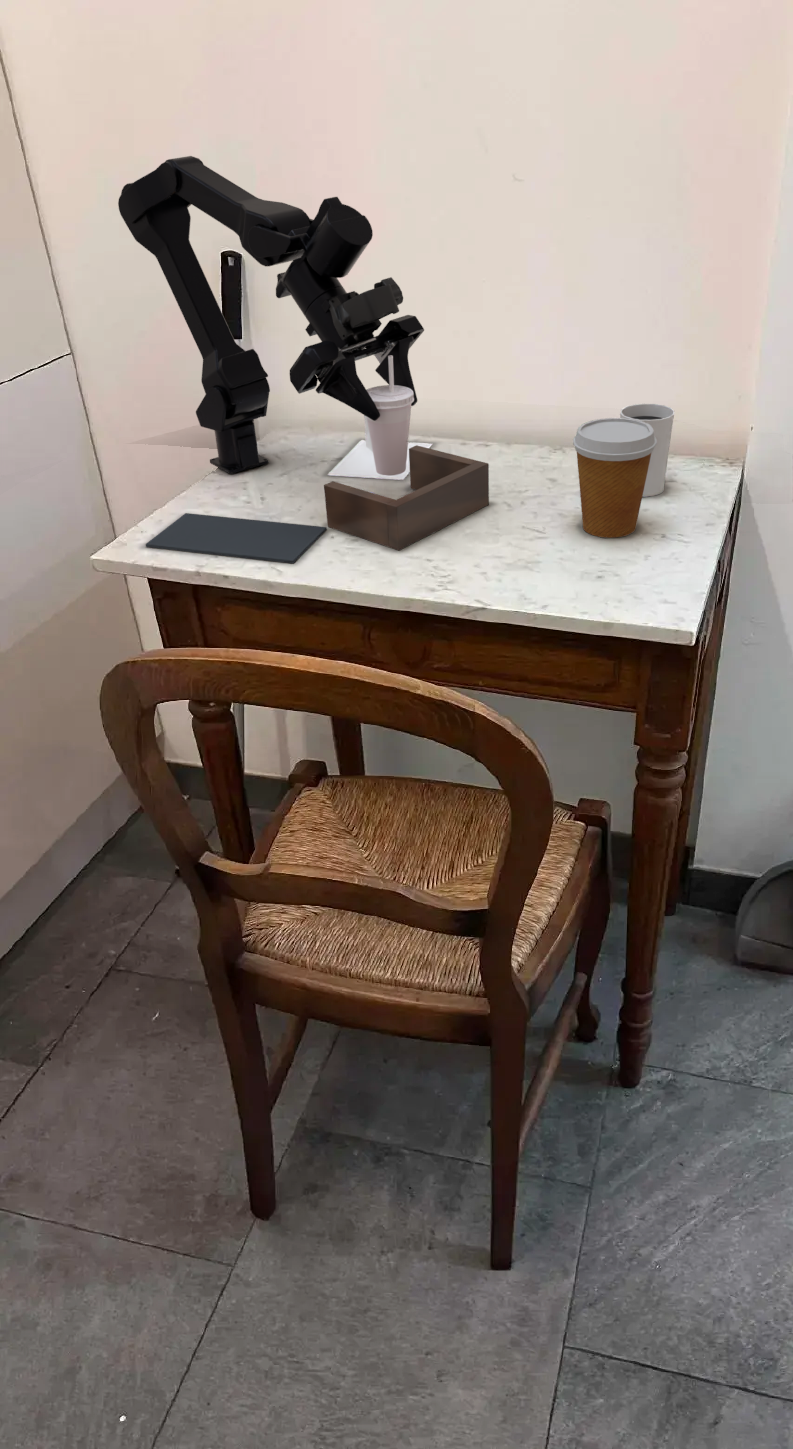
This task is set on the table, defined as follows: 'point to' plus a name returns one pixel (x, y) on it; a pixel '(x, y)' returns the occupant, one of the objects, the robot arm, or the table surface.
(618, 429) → the disposable coffee cup
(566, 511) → the table surface
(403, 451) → the smoothie
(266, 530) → the mat
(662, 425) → the white paper cup
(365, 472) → the napkin holder
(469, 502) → the frame
